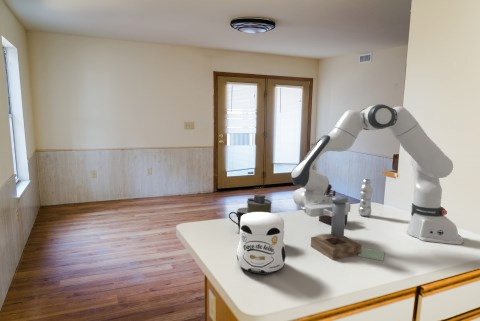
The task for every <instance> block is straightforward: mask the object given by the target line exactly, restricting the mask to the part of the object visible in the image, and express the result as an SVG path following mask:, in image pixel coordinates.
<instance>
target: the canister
mask: <svg viewBox="0 0 480 321" xmlns="http://www.w3.org/2000/svg"><path fill="white" fill-rule="evenodd" d="M266 197H267V196H266V195H263V194H261V193H259V194H254V198H253V197H250V198H247V201H246V204H247V207H246V208H247V213H252V212H268V213H272V203H273V202H272V200H271V199H267V198H266Z"/></svg>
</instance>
